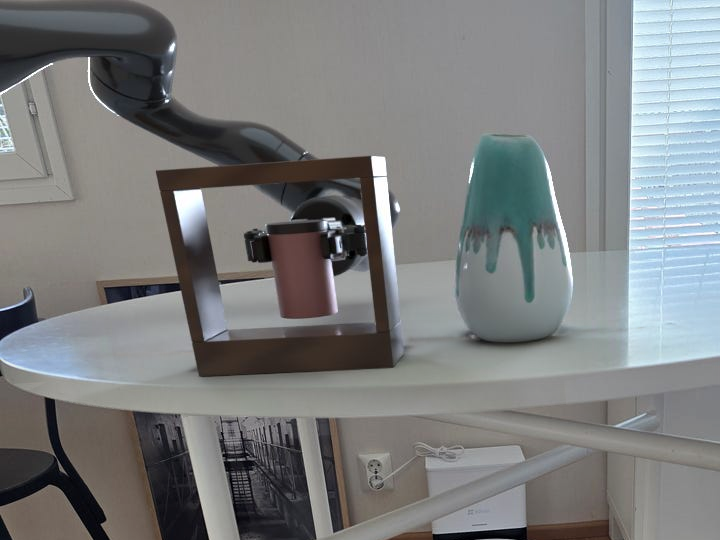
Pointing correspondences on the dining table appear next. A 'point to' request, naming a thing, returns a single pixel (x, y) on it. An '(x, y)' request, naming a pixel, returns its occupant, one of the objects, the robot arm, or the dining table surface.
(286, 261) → the liner canister
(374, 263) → the shelf
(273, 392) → the dining table surface
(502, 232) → the vase
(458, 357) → the dining table surface
